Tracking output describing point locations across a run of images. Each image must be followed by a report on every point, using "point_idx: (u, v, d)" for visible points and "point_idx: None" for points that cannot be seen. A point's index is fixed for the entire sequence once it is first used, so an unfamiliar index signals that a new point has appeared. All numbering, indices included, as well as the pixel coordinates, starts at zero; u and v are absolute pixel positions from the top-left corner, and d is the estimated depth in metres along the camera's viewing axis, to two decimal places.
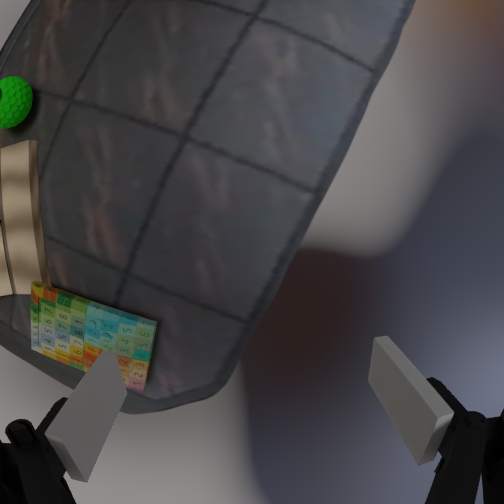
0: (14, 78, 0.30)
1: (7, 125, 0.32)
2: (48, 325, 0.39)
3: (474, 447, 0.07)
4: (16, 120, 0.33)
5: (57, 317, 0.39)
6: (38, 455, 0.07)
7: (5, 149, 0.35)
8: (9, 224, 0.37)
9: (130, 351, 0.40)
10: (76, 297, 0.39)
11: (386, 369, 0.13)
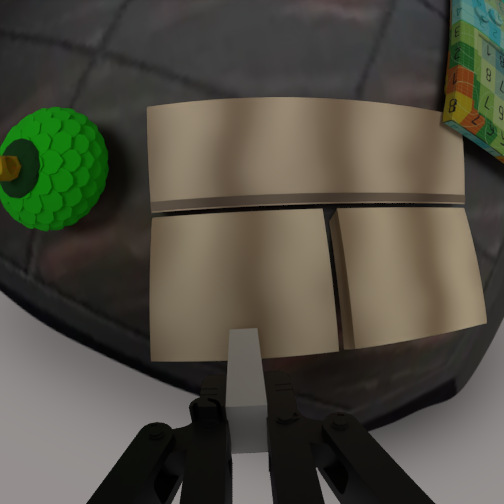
0: None
1: (96, 149, 0.16)
2: None
3: (296, 444, 0.08)
4: (93, 130, 0.17)
5: (491, 87, 0.17)
6: (217, 436, 0.09)
7: (155, 183, 0.19)
8: (336, 175, 0.20)
9: None
10: (453, 42, 0.17)
11: None
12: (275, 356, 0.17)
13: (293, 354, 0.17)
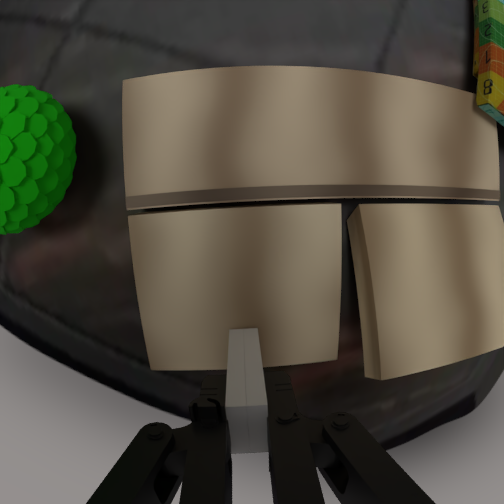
0: None
1: (58, 131, 0.12)
2: None
3: (296, 444, 0.08)
4: (57, 110, 0.12)
5: None
6: (217, 436, 0.09)
7: (131, 173, 0.15)
8: (357, 162, 0.15)
9: None
10: (482, 18, 0.12)
11: None
12: (274, 365, 0.17)
13: (292, 363, 0.18)
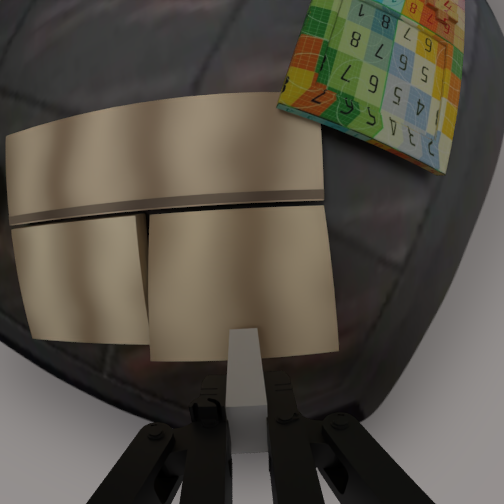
0: None
1: None
2: (383, 87, 0.16)
3: (296, 444, 0.08)
4: None
5: (358, 53, 0.16)
6: (217, 436, 0.09)
7: (11, 200, 0.18)
8: (146, 180, 0.19)
9: None
10: (308, 9, 0.16)
11: None
12: (104, 342, 0.21)
13: (117, 342, 0.21)
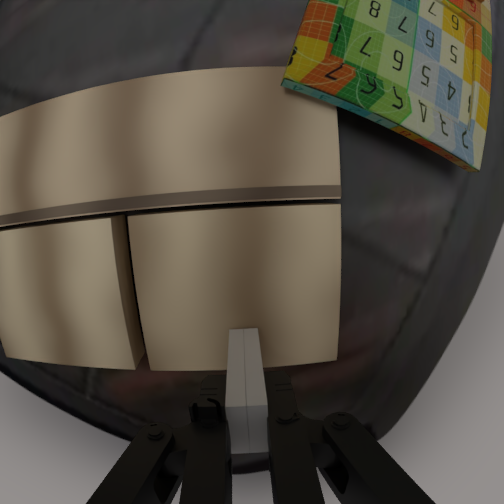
0: None
1: None
2: (409, 64, 0.12)
3: (296, 444, 0.08)
4: None
5: (379, 25, 0.12)
6: (217, 436, 0.09)
7: None
8: (123, 175, 0.15)
9: None
10: None
11: None
12: (82, 365, 0.17)
13: (96, 365, 0.17)
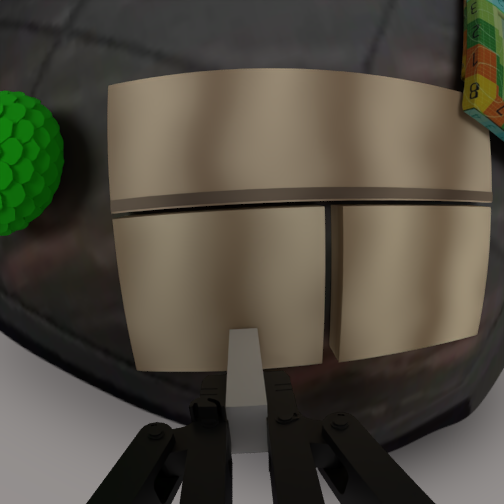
0: None
1: (44, 137, 0.12)
2: None
3: (296, 444, 0.08)
4: (44, 115, 0.12)
5: None
6: (217, 436, 0.09)
7: (115, 177, 0.15)
8: (341, 164, 0.15)
9: None
10: (470, 19, 0.12)
11: None
12: None
13: (276, 366, 0.17)
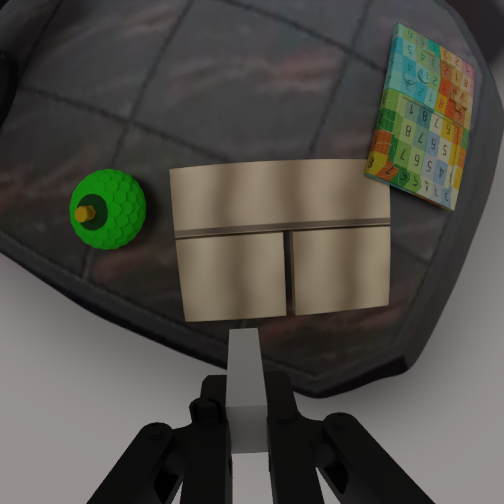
0: None
1: (140, 199, 0.29)
2: (422, 161, 0.29)
3: (296, 444, 0.08)
4: (136, 186, 0.29)
5: (409, 141, 0.29)
6: (217, 436, 0.09)
7: (176, 219, 0.32)
8: (291, 211, 0.32)
9: (432, 55, 0.27)
10: (381, 107, 0.29)
11: None
12: (251, 317, 0.34)
13: (261, 316, 0.34)
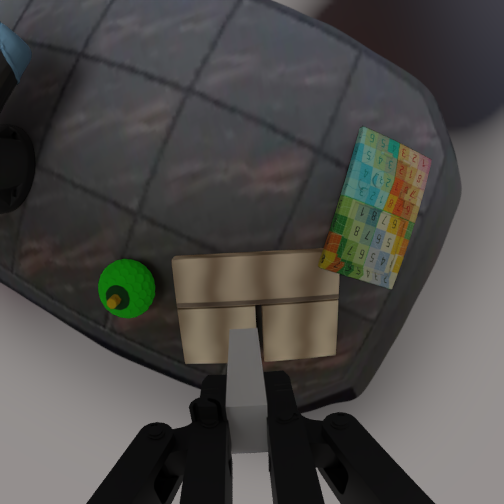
0: (101, 277, 0.39)
1: (151, 285, 0.41)
2: (366, 254, 0.41)
3: (296, 444, 0.08)
4: (147, 274, 0.41)
5: (357, 239, 0.41)
6: (217, 436, 0.09)
7: (178, 295, 0.43)
8: (261, 291, 0.44)
9: (390, 157, 0.38)
10: (336, 211, 0.41)
11: None
12: None
13: None
